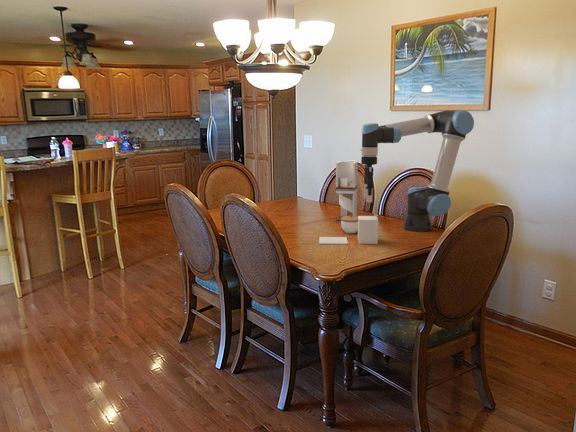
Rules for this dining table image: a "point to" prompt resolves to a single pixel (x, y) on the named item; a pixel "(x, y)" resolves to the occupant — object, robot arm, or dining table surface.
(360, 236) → the white block
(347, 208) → the display case
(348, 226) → the lidded jar
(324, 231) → the dining table surface
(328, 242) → the mat
